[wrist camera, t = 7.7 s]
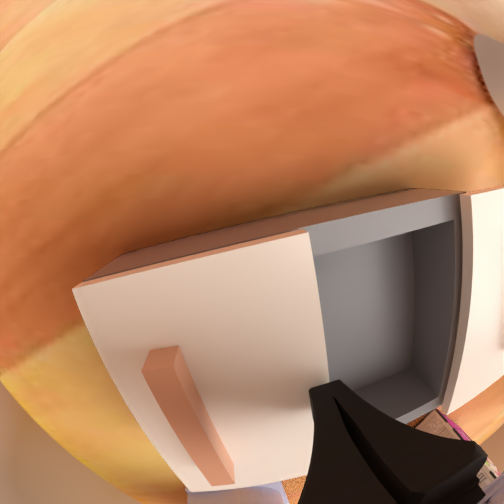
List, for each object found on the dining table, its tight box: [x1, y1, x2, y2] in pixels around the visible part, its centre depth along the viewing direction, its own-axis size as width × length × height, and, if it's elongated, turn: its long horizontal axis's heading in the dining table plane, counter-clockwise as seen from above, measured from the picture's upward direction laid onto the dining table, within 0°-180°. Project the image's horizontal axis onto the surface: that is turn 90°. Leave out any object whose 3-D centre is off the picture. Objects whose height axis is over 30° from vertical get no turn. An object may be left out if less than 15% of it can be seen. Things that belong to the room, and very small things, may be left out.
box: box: [83, 188, 466, 424], centre depth 14 cm, size 18×14×5 cm
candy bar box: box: [414, 408, 501, 489], centre depth 14 cm, size 11×5×16 cm, turn 49°
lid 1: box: [72, 229, 330, 492], centre depth 10 cm, size 9×14×2 cm, turn 13°
